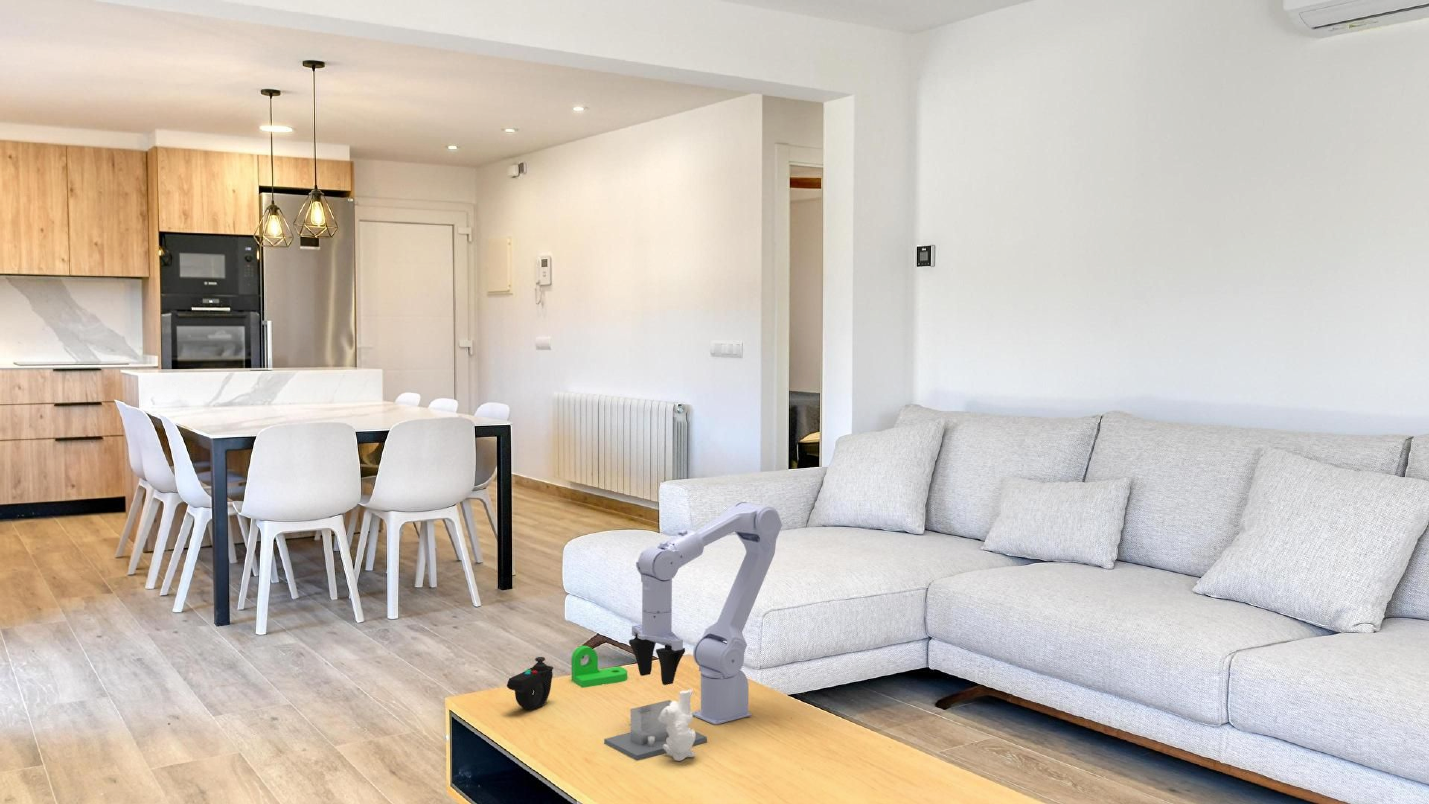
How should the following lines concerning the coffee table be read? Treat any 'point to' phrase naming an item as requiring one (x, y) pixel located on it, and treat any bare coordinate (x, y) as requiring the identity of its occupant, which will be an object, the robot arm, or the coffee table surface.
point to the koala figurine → (679, 727)
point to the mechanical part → (593, 670)
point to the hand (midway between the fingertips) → (656, 679)
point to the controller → (532, 685)
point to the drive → (648, 723)
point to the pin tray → (644, 751)
